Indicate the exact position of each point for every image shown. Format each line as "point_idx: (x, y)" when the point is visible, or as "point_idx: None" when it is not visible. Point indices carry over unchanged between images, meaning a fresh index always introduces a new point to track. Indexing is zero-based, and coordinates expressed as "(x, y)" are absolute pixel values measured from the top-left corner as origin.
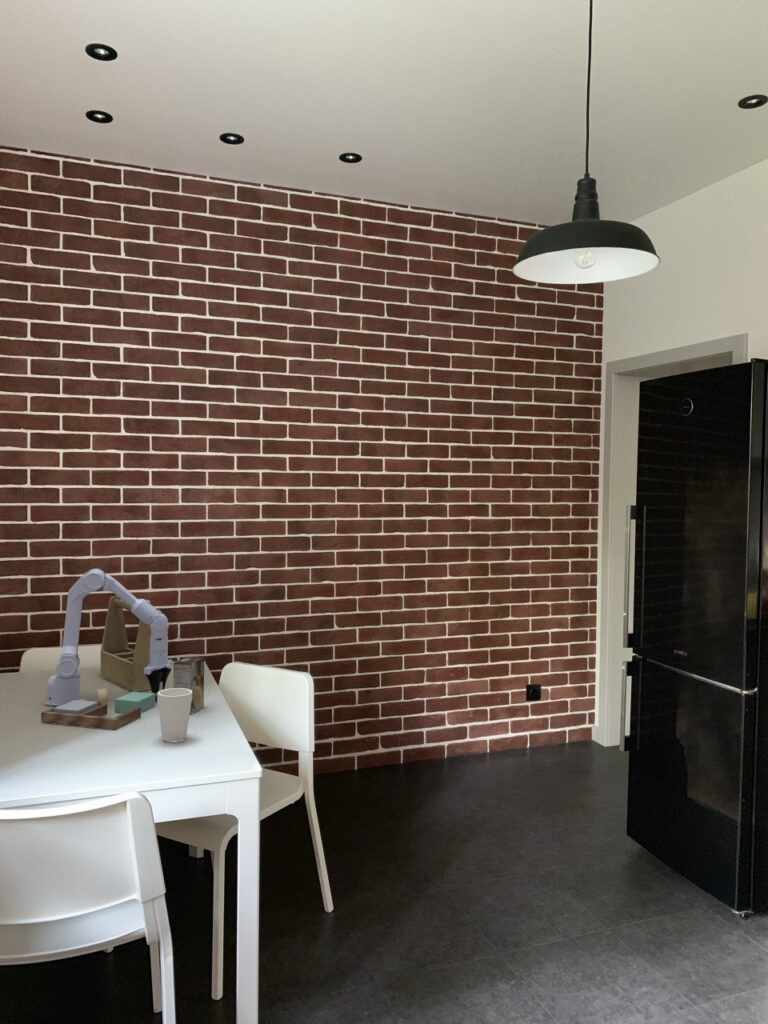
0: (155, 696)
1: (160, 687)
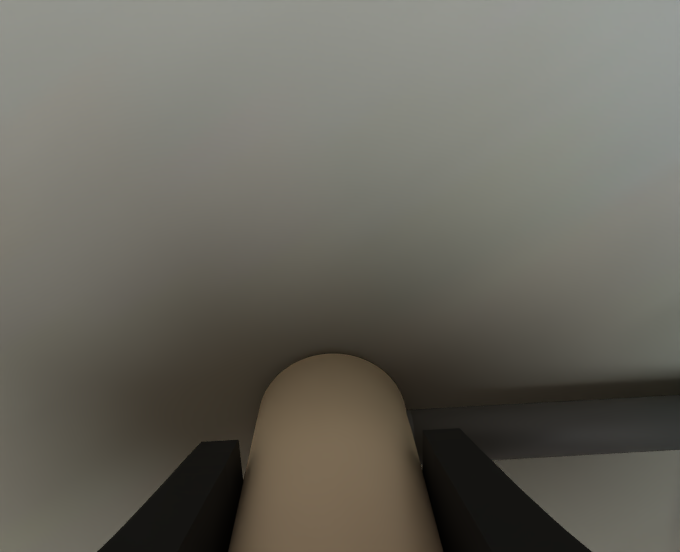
0: (446, 422)
1: (378, 482)
